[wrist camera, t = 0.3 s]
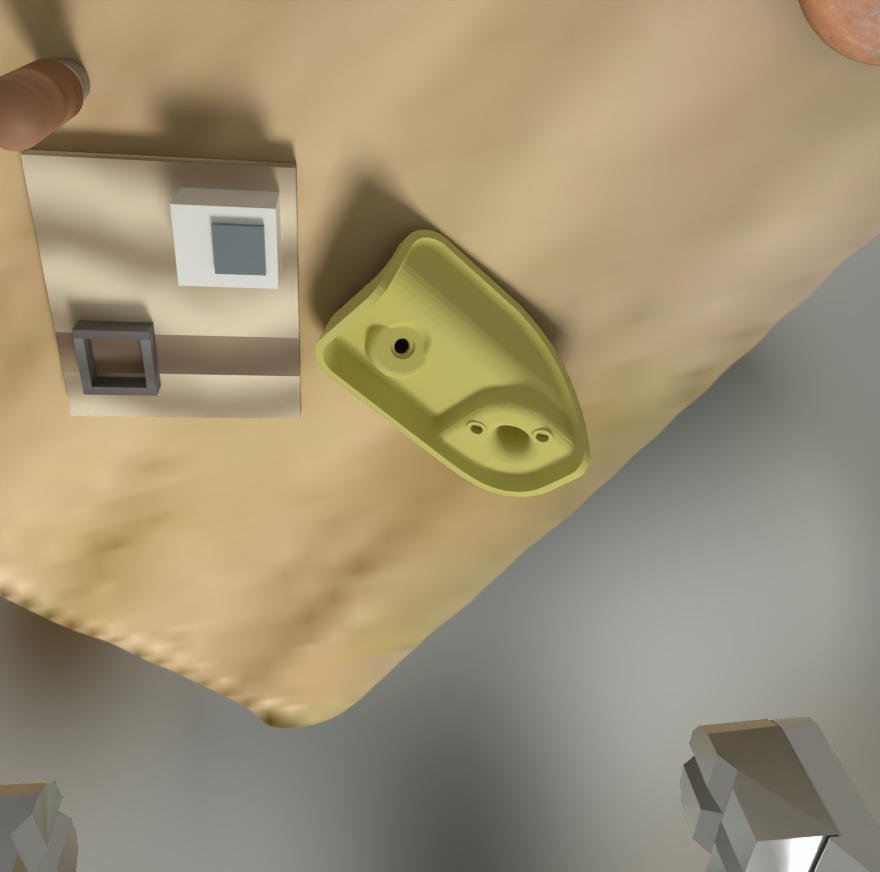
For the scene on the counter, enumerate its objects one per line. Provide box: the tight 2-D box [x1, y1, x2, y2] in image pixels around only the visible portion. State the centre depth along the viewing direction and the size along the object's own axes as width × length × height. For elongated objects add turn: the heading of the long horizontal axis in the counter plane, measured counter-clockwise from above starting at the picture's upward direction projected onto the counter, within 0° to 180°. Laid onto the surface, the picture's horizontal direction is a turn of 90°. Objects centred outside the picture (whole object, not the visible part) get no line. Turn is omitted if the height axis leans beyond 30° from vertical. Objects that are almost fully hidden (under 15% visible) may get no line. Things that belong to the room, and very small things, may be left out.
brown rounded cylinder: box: [0, 59, 90, 151], centre depth 43 cm, size 3×3×10 cm
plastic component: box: [315, 229, 590, 497], centre depth 58 cm, size 20×7×10 cm
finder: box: [170, 187, 282, 289], centre depth 50 cm, size 6×5×4 cm
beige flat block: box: [21, 150, 301, 419], centre depth 53 cm, size 18×16×3 cm
